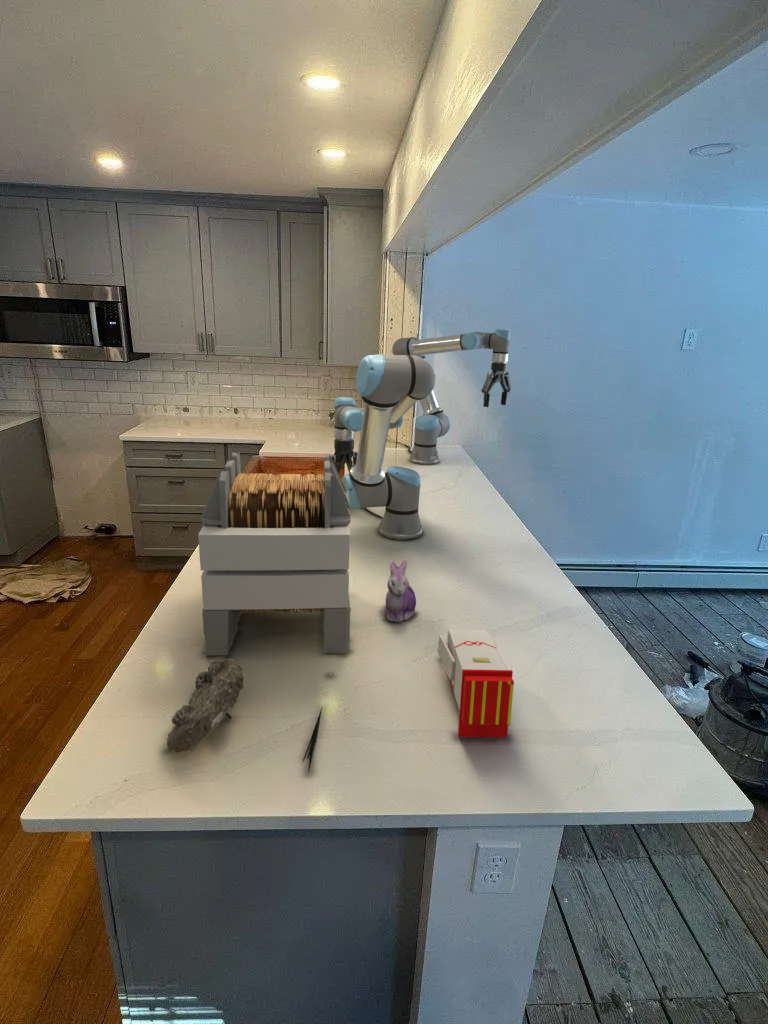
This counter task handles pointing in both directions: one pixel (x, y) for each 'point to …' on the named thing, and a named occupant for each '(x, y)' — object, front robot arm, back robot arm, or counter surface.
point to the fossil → (206, 705)
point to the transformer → (275, 551)
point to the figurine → (399, 594)
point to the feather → (313, 740)
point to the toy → (478, 682)
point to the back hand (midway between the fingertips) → (494, 405)
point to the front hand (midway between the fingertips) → (343, 496)
